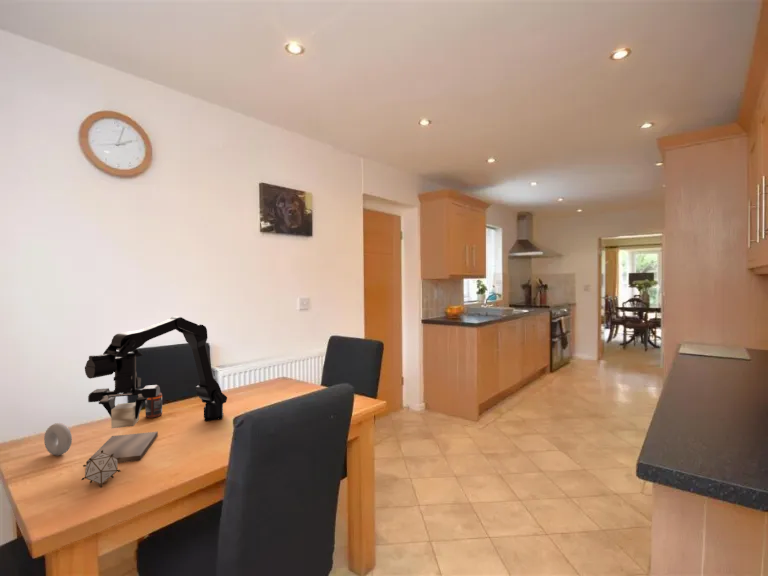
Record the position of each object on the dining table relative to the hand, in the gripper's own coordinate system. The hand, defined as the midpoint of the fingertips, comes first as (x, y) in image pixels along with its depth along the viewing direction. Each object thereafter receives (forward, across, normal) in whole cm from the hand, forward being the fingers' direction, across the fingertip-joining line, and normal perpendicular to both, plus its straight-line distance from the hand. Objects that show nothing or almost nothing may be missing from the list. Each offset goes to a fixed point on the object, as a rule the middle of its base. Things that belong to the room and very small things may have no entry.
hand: (125, 419), depth 124 cm
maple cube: (+2, 0, 0) cm, 2 cm away
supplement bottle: (+10, 0, -34) cm, 35 cm away
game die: (+10, -1, +22) cm, 24 cm away
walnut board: (+10, 0, 0) cm, 10 cm away
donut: (+10, +19, -2) cm, 22 cm away
